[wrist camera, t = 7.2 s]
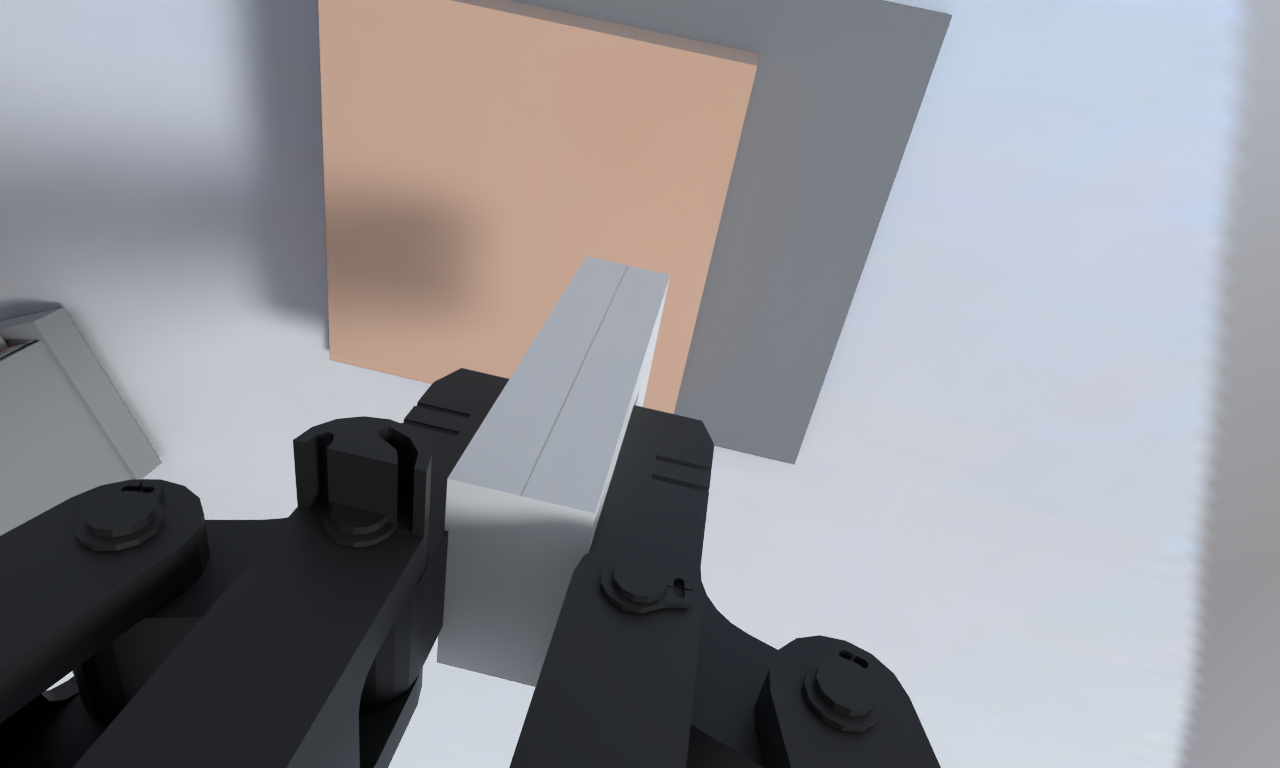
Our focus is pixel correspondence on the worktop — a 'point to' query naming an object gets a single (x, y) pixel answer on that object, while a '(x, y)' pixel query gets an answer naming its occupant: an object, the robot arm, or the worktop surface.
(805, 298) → the mat
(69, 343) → the cassette tape recorder
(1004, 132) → the worktop surface
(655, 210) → the tile
